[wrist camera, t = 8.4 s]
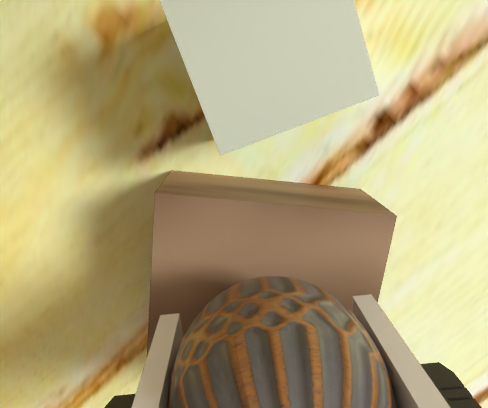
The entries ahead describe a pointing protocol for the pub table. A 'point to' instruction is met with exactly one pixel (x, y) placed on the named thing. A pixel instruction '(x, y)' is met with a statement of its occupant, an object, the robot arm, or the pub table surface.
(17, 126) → the pub table surface
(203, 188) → the plinth
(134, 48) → the pub table surface
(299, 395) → the vase
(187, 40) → the sage cube
